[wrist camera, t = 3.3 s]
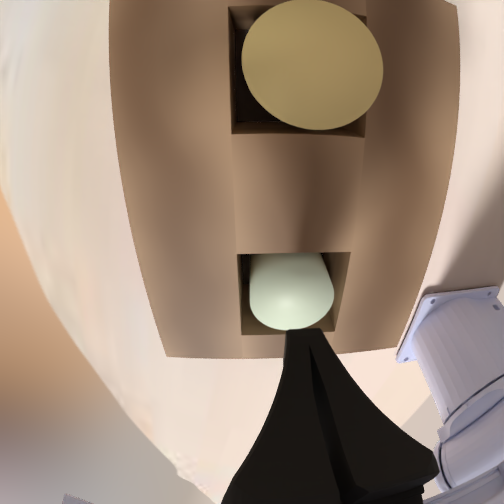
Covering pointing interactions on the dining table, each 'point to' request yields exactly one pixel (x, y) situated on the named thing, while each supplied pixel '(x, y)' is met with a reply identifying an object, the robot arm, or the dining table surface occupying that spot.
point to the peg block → (279, 173)
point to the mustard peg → (312, 64)
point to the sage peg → (289, 289)
